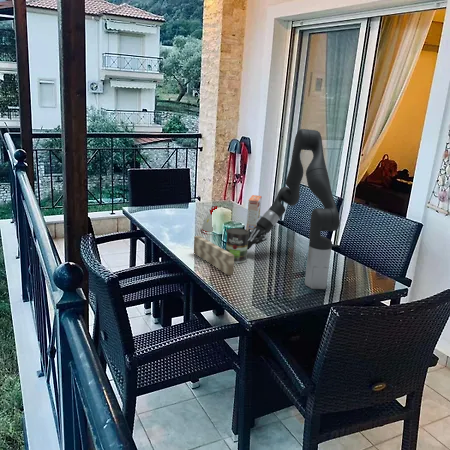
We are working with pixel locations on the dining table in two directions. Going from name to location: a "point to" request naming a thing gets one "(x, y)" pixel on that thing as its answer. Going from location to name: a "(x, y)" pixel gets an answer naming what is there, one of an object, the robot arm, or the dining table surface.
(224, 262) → the birch board
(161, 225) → the dining table surface
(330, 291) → the dining table surface
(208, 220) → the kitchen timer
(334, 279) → the dining table surface
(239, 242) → the coffee can
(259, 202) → the cracker box
